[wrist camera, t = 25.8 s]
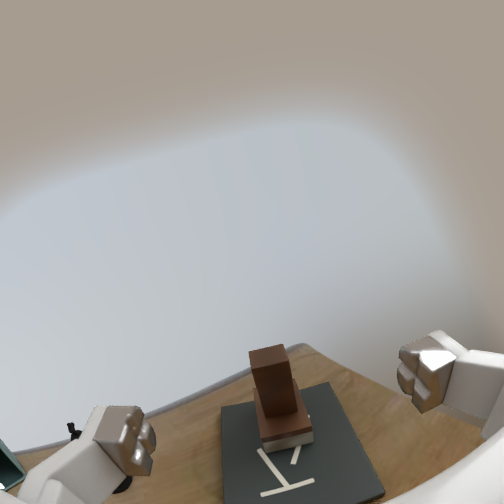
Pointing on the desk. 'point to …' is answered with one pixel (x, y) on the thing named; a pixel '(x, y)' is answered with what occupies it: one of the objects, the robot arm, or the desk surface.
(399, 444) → the desk surface
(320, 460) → the chalkboard
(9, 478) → the flower pot
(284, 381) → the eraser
